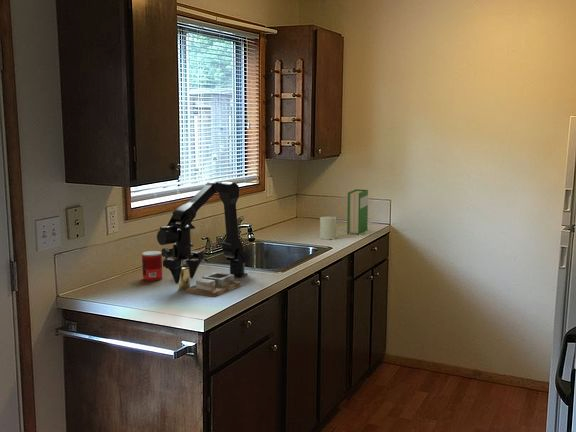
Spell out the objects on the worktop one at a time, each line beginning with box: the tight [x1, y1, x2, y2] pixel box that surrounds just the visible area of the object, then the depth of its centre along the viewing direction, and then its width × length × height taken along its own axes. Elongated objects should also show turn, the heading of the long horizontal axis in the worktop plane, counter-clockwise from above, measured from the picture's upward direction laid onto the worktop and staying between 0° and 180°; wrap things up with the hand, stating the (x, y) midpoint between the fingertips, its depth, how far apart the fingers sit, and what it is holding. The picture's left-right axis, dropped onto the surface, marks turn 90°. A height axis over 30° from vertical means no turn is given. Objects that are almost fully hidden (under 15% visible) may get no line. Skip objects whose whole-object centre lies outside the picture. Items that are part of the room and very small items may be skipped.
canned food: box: [141, 250, 163, 282], centre depth 261 cm, size 8×8×11 cm
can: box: [319, 215, 337, 240], centre depth 349 cm, size 9×9×12 cm
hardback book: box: [346, 188, 369, 235], centre depth 367 cm, size 18×7×24 cm, turn 159°
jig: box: [185, 271, 242, 298], centre depth 245 cm, size 18×13×4 cm
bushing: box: [178, 267, 191, 291], centre depth 246 cm, size 4×4×8 cm
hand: (184, 280), depth 246 cm, fingers open, 9 cm apart
